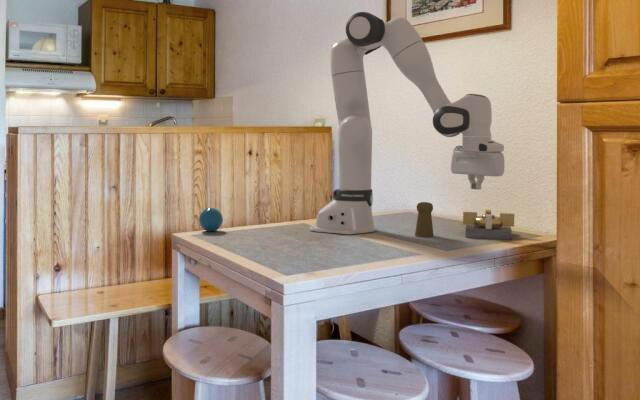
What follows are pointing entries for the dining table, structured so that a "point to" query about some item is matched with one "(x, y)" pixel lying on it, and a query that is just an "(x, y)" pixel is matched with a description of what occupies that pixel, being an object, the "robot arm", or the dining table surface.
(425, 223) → the cork
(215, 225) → the ball
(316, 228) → the robot arm
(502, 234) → the housing
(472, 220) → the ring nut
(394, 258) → the dining table surface
